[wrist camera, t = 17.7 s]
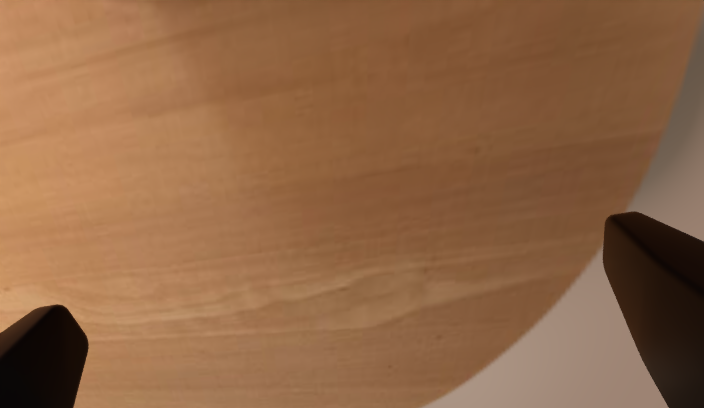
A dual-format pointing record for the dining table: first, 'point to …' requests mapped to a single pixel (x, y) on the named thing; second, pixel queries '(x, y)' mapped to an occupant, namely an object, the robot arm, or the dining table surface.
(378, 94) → the dining table surface
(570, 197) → the dining table surface
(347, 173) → the dining table surface
